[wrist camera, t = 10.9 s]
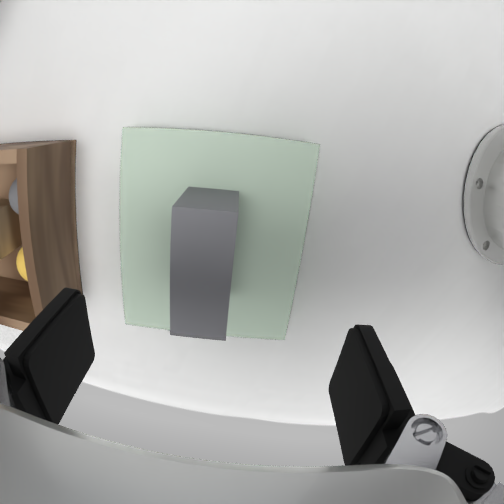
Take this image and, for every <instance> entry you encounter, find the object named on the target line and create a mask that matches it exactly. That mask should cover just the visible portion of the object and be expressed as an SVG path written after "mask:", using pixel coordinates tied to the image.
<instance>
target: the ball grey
mask: <svg viewBox="0 0 504 504" xmlns="http://www.w3.org/2000/svg"><path fill="white" fill-rule="evenodd" d="M9 202H10V205H11V207H12V209H13V210H14V211H15V212H16V213H17V214H18V215H19V210H18V194H17V178H16V179H15V180H14V182H13V183H12V185H11V187H10V190H9Z"/></svg>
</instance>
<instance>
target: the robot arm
mask: <svg viewBox="0 0 504 504" xmlns="http://www.w3.org/2000/svg"><path fill="white" fill-rule="evenodd" d="M464 217H465V225H466V229H467V232H468V236H469V238H470V240H471V242H472V244H473V246H474V248H475V249H476V250H477V251H478V253H479V254H480V255H482V256H483V257H485V258H486V259H487V260H489V261H491V262H493V263H495V264H501V265H504V125H501V126H499V127H496V128H494V129H493V130H492V131H491V132H489V133H488V134H487V135H486V136H485V138H484V139H483V140H482V141H481V143H480V144H479V146H478V148H477V150H476V152H475V153H474V155H473V158H472V161H471V164H470V166H469V169H468V174H467V178H466V182H465V191H464ZM4 354H5V356H6V357H5V358H4V359H3V360H2V359H1V358H0V504H504V486H503V485H502V484H501V483H500V482H499V483H498V484H497V485H496V484H495V483H494V480H495V476H494V472H493V469H492V468H491V467H490V465H489V464H488V463H486V462H485V461H483V460H481V459H479V458H477V457H475V456H473V455H471V454H470V453H468V452H466V451H464V450H462V449H460V448H458V447H456V446H454V445H452V444H450V443H448V442H446V440H447V431H446V428H445V426H444V425H443V423H442V422H441V421H440V420H438V419H437V418H435V417H433V416H431V415H428V414H419V415H415V413H414V411H413V409H412V407H411V404H410V402H409V400H408V398H407V395H406V393H405V391H404V389H403V387H402V385H401V382H400V380H399V378H398V376H397V374H396V372H395V370H394V367H393V366H392V364H391V363H390V361H389V359H388V357H387V355H386V353H385V351H384V349H383V347H382V345H381V343H380V341H379V339H378V337H377V335H376V332H375V330H374V329H373V327H372V326H371V325H355V326H354V328H350V329H349V331H348V334H347V336H346V339H345V342H344V345H343V348H342V351H341V354H340V356H339V359H338V362H337V365H336V367H335V370H334V373H333V375H332V378H331V381H330V384H329V395H330V399H331V403H332V408H333V412H334V417H335V421H336V426H337V431H338V435H339V440H340V445H341V449H342V454H343V459H344V463H345V466H315V467H314V466H300V467H299V466H297V467H296V466H263V465H247V464H236V463H225V462H216V461H208V460H201V459H194V458H187V457H181V456H175V455H169V454H164V453H159V452H154V451H149V450H145V449H140V448H136V447H131V446H127V445H124V444H120V443H116V442H112V441H108V440H104V439H101V438H97V437H94V436H91V435H87V434H84V433H81V432H78V431H75V430H72V429H69V428H66V427H63V426H60V425H58V424H59V422H60V420H61V419H62V417H63V415H64V413H65V411H66V409H67V407H68V405H69V403H70V402H71V400H72V398H73V396H74V394H75V393H76V391H77V389H78V387H79V385H80V384H81V382H82V380H83V378H84V377H85V375H86V373H87V371H88V370H89V368H90V366H91V364H92V363H93V361H94V357H95V352H94V347H93V342H92V336H91V331H90V326H89V320H88V314H87V308H86V301H85V297H84V295H82V294H81V292H80V290H77V289H72V288H67V287H65V288H64V289H62V290H61V292H60V293H59V294H58V295H57V296H56V297H55V298H54V299H53V300H52V301H51V302H50V303H49V304H48V305H47V306H46V307H45V308H44V309H43V310H42V311H41V312H40V313H39V314H38V316H37V317H36V318H35V319H34V320H33V321H32V322H31V323H30V324H29V325H28V326H27V328H26V329H25V330H24V331H23V332H22V333H21V334H20V335H19V337H18V338H17V339H16V340H15V341H14V342H13V343H12V345H11V346H10V347H9V348H8V349H7V350H6V352H5V353H4Z"/></svg>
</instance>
